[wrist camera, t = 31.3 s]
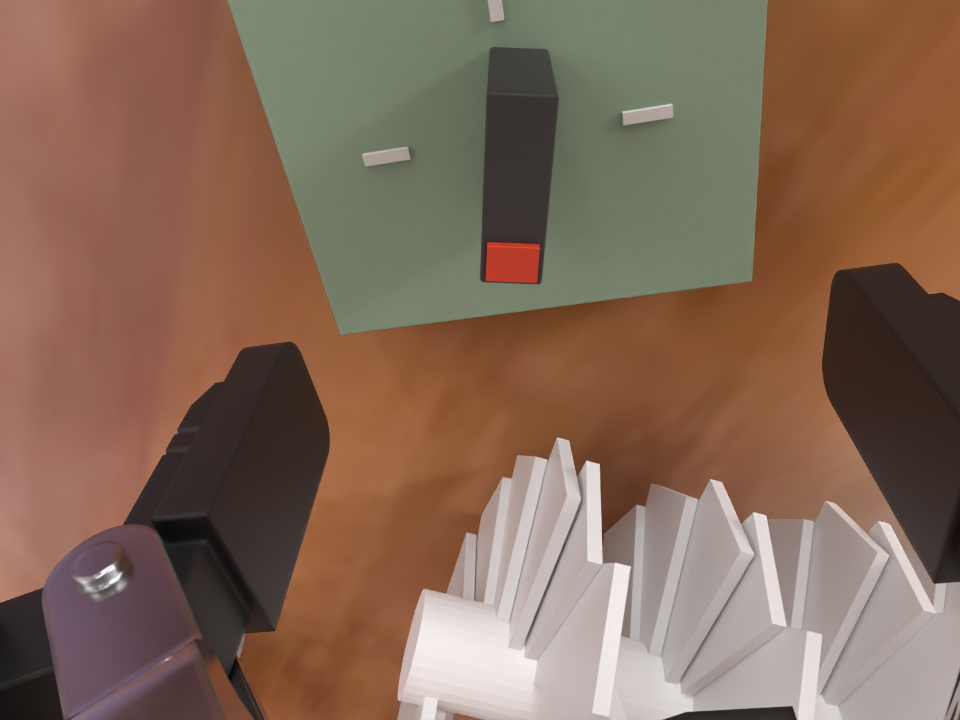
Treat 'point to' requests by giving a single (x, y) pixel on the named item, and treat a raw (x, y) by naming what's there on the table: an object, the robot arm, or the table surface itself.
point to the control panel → (461, 146)
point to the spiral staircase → (675, 612)
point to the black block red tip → (517, 164)
